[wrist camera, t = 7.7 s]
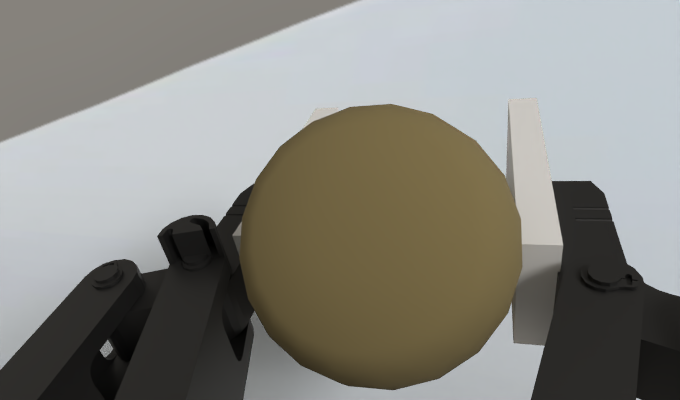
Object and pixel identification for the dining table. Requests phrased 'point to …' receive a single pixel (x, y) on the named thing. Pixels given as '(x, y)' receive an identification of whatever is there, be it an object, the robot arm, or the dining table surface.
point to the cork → (381, 247)
